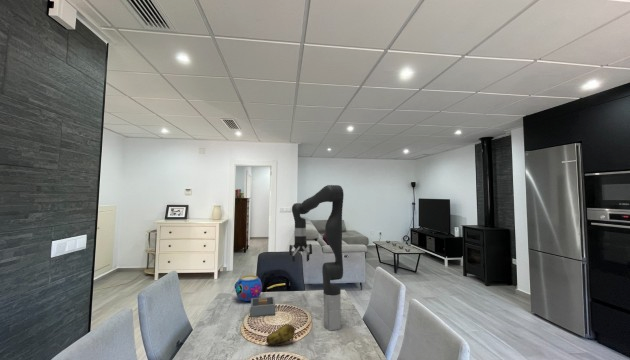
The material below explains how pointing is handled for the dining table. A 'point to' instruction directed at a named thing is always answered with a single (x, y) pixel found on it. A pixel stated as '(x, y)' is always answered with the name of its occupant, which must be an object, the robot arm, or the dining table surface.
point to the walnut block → (263, 301)
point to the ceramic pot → (248, 287)
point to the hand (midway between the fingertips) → (300, 261)
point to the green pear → (281, 334)
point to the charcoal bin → (262, 307)
